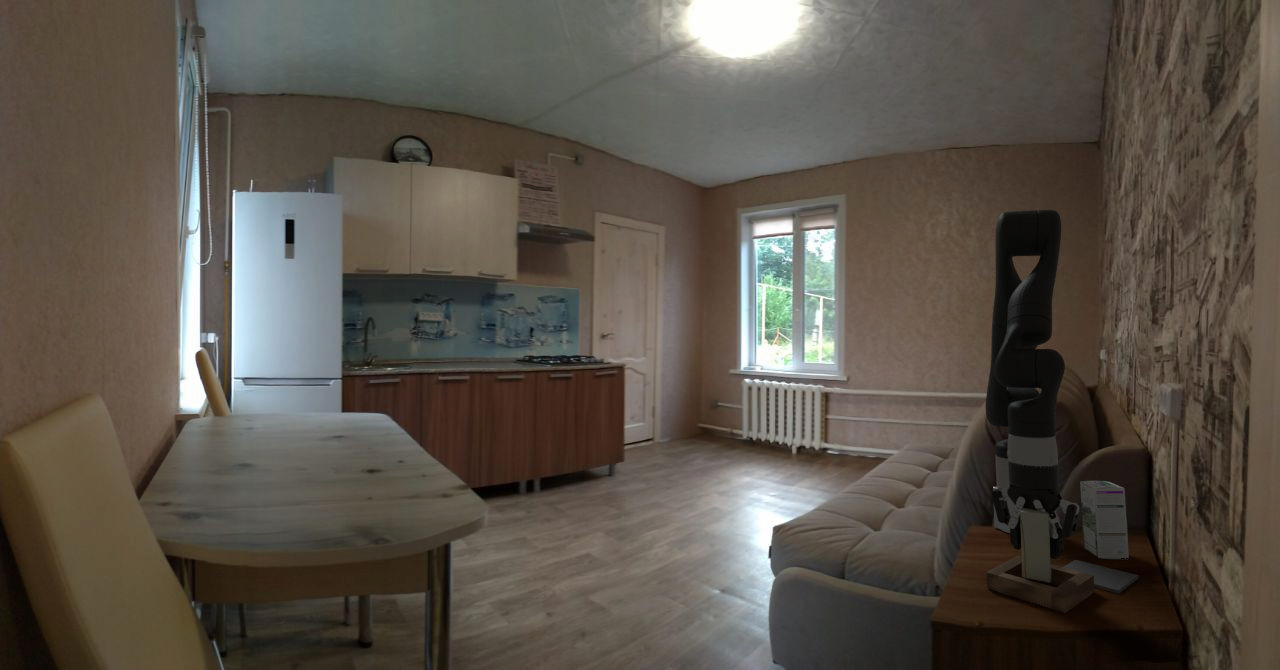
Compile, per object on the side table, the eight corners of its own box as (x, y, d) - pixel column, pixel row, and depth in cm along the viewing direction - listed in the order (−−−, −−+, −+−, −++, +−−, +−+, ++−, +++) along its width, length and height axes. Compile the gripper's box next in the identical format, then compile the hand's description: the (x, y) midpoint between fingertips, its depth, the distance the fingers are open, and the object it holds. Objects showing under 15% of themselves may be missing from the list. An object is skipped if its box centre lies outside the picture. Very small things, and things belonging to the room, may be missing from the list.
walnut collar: (987, 588, 108) (986, 572, 108) (1018, 570, 115) (1017, 555, 115) (1065, 613, 98) (1064, 595, 98) (1094, 592, 105) (1093, 575, 105)
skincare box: (1023, 566, 110) (1020, 501, 110) (1052, 570, 108) (1049, 504, 108) (1021, 578, 105) (1018, 510, 105) (1052, 583, 103) (1049, 514, 103)
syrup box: (1130, 559, 118) (1127, 487, 118) (1096, 558, 119) (1093, 487, 119) (1113, 549, 124) (1110, 480, 124) (1081, 548, 125) (1078, 480, 125)
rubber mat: (1053, 576, 112) (1053, 572, 112) (1075, 562, 118) (1075, 559, 118) (1118, 593, 104) (1118, 590, 104) (1138, 578, 109) (1138, 575, 109)
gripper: (1088, 462, 103) (1092, 559, 103) (1000, 450, 114) (1003, 537, 115) (1070, 469, 98) (1074, 571, 98) (980, 456, 110) (984, 547, 110)
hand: (1036, 552), depth 106 cm, fingers closed on skincare box, 5 cm apart
